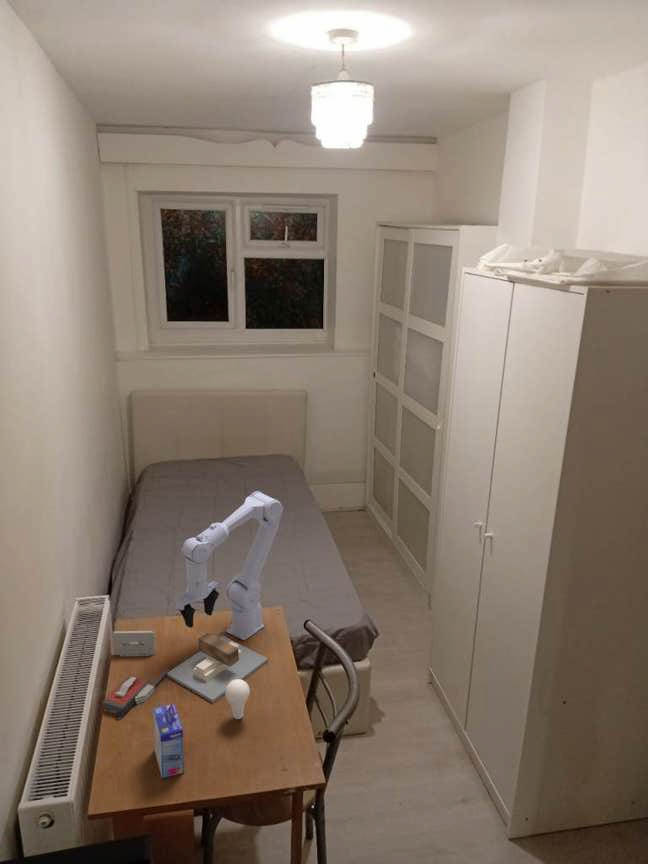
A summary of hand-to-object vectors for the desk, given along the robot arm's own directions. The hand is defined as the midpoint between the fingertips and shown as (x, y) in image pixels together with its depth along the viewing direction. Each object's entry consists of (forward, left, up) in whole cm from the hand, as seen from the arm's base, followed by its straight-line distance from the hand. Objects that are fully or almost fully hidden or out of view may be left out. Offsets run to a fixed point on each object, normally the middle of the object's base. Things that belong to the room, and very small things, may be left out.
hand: (199, 620), depth 191 cm
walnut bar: (+3, +10, -6) cm, 12 cm away
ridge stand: (+3, +10, -10) cm, 15 cm away
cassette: (+13, -14, -11) cm, 22 cm away
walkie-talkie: (+23, 0, -11) cm, 26 cm away
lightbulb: (+14, +28, -11) cm, 33 cm away
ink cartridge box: (+34, +25, -11) cm, 43 cm away
